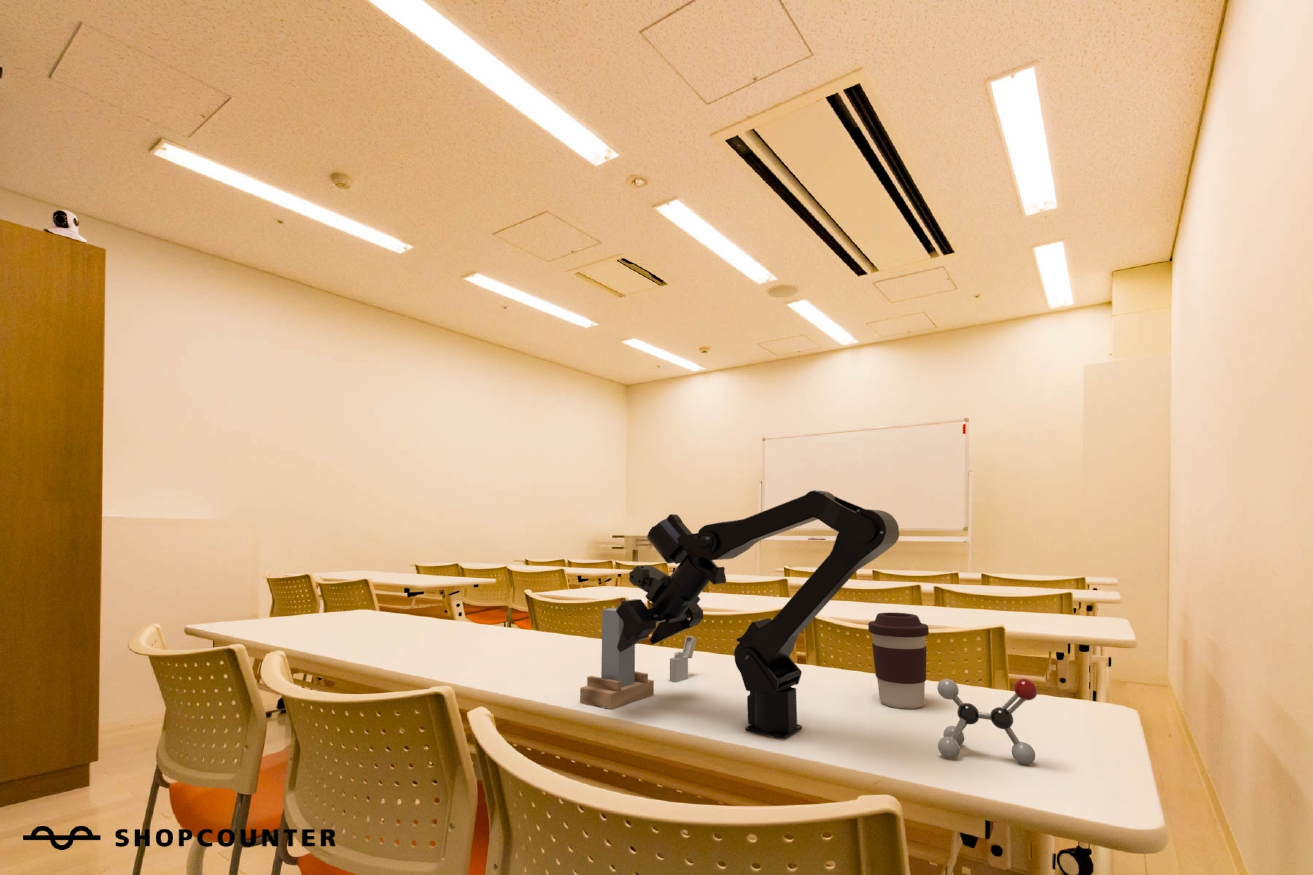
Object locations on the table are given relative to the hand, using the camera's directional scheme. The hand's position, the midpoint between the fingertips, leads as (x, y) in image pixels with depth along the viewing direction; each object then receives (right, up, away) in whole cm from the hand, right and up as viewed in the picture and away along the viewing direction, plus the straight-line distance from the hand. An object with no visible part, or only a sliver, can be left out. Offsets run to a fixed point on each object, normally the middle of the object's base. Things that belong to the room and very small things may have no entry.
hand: (635, 645), depth 112 cm
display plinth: (-3, -10, +1) cm, 10 cm away
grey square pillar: (-3, -7, +1) cm, 8 cm away
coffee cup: (+46, -10, -2) cm, 47 cm away
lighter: (+9, -12, +16) cm, 23 cm away
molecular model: (+48, -6, -28) cm, 56 cm away
